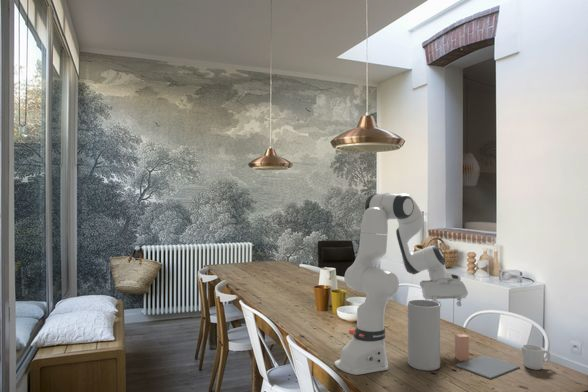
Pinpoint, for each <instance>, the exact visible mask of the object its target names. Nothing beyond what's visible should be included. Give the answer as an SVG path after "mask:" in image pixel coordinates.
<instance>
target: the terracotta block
mask: <svg viewBox="0 0 588 392" xmlns="http://www.w3.org/2000/svg"><path fill="white" fill-rule="evenodd" d="M469 343H470V342H469V336H468V335H467V334H466V333H455V334H454V358H455V359H456V360H458V362H459V361H460V362H465V361H468V360H470V356H469V355H470V354H469Z"/></svg>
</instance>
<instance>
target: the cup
mask: <svg viewBox="0 0 588 392" xmlns="http://www.w3.org/2000/svg"><path fill="white" fill-rule="evenodd" d="M521 352H522V353H521V354H522V360H523V361H522V362H523V366H524V367H526V368H527V369H529V370H534V371H539V370H542V369H543V367H544V363H548V362H549V361H550V360H551V353H550V352H549V350H546V349H545V348H544V347H542V346H540V345H537V344H523V345H521ZM545 354H546V358H545Z"/></svg>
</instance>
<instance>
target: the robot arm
mask: <svg viewBox="0 0 588 392" xmlns="http://www.w3.org/2000/svg"><path fill="white" fill-rule="evenodd" d="M364 209H365V210H364V212H363V216H362V221H361V225H360V235H359V236H360V237H359V245H358V250H357V254H356V257H355V260H354V262H352V264H351V265H350V266H349V267H348V268H347V269H346V270H345V273H344V275H343V278H344V283H345V286H347V287H348V288H350V289H351V290H354V291H355V292H359V293H363V294H365V299H364V302H363V303H361V304H360V305H358V307H357V308H356V309H357V310H356V327H355V329H352V328H349V330H348V334H350V335H352V336H353V337H352V338H351V339H350V340H349V342H348V343H346V344H345V346H344V347H342V349H341V350H340V356H339V359H337V360H335V361H334V365H335V367H336V368H338V369H339V370H341V371H342V372H345V373H347V374H351V375H354V376H355V375H356V376H357V375H358V376H359V375H363V374H370V373H375V372H381V371H388V370H389V361H388V357H387V350H386V343H385V338H386V328H385V313H386V312H385V311H386V307H387V304H388V302H389V300H390V299H391V298H392V297H393V296H395V295H396V294H397V292H398V290H399V285H400V283H399V279H398V276H397V275H396V274H395V273H394V272H391V271H389V270H387V269H384V268H378V267H376V266H377V263H378V261H379V260H380V259H382V258H383V257H385V255H386V253H387V245H388V231H389V230H388V220H397V223H398V227H397V229H396V230H395V231H396V232H395V233H396V239H397V242H398V246H399V248H400V249H399V250H400V253H401V257H402V262H403V263H402V264H403V267H404V269H405V271H406V272H407V273H409V274H411V275H416V274H418V273H421V272H423V271H426V272H428V275H429V276H428V277H429V279H428V280H427V279H426V280H425V279H424V280H421V281H420V282H419V286H420V288H421V293H422V297H423V299H424V300H431V301H435V302H438V303H439V304H440V308H441V307H442V304H441V301H439V300H447V299H451V300H452V299H454V300H455V299H456V300H457V302H456V306H457V307H462V305H463V304H462V299H466V298H467V296H468V294H469V291H468V290H467V287H466V285H465V283H464V282H463V280H461V278H462V277H461V276H460V275H457V274H454V273H450V272H448V270H447V268H446V264H445V263H446V259H445V256H444V253H443V251H442V249H441V248H440V247H438V246H436V245H430V246H426V247H424V248H421V249H418V250H416V251H412V252H411V251H410V247H409V244H408V242H409V241H410V240H411V239H412V238H413V237H415V236H416V235H418V234H419V233H420V231H421V230H422V229H423V227H424V223H425V218H424V215H423V214H422V210H421V209H420V206H419V205H418V204H417V202H416V201H415V200H414V198H413V197H412V196H411V195H410V194H408V193H399V194H398V193H390V192H385V193H373V194H371V195H369V196H368V197H367V198H366V200H365V202H364Z"/></svg>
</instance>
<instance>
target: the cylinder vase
mask: <svg viewBox="0 0 588 392" xmlns="http://www.w3.org/2000/svg"><path fill="white" fill-rule="evenodd" d="M438 302H439V301H438ZM438 302H435V301H432V300H430V299H412V300H408V301H407V363H408V365H409V366H410V367H411V368H413V369H415V370H419V371H424V372H425V371H426V372H427V371H428V372H430V371H436V370H438V369H440V367H441V307H440V304H441V303H440V304H439V303H438Z"/></svg>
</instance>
